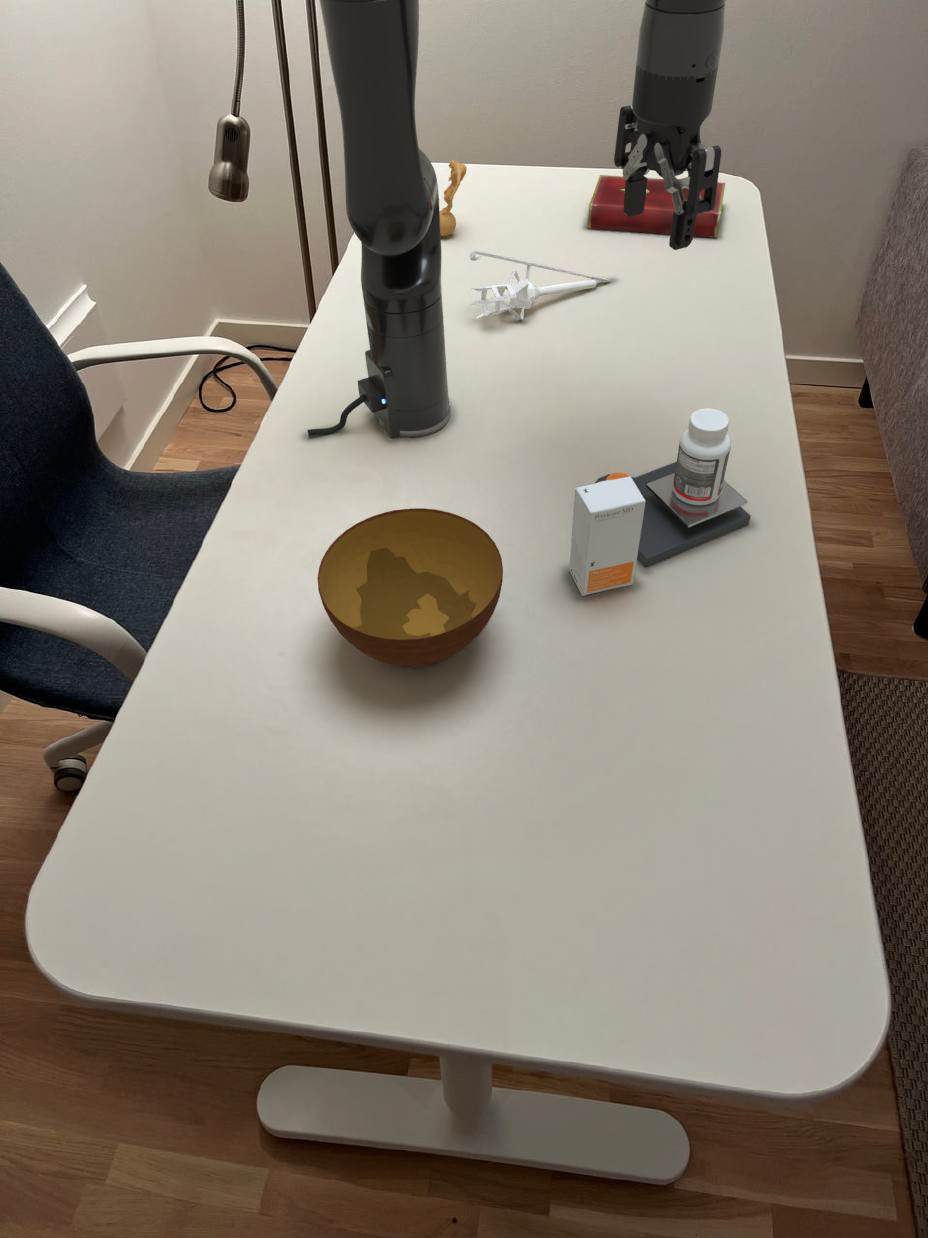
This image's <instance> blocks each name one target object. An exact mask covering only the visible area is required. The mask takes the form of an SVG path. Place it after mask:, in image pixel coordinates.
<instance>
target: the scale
mask: <svg viewBox="0 0 928 1238" xmlns="http://www.w3.org/2000/svg"><path fill="white" fill-rule="evenodd" d="M676 463H677V461H675V462H672V463H669V464H667V465H664V466H660V467H659V468H656V469H654V470H651V471H649V472H646V473H643V474H641V475H638V476H635V477H634V476H631V475H629V476H630V477H631V478H632V479H633V481H634V483H635V484H636V486H637V488H638V489H639V491H640V493H641V494H642V496H643V498H644V499H645V501H646V502H645V509H644V515H643V522H642V529H641V535H640V541H639V548H638V555H637V561H639V562H640V563H641V564H642V566H643V567H644V568H649V567H651V566H653V565H656V564H659V563H661V562H662V561H665V560H667V559H669V558H672V557H674V556H677V555H679V554H682V553H684V552H686V551H689V550H691V549H694V548H696V547H698V546H701V545H703V544H705V543H707V542H710V541H712V540H715V539H718V538H720V537H722V536H725V535H728V534H729V533H731V532H734V531H737V530H739V529H741V528H743V527H746V526H748V525H749V524H750V520H751V516H752V515H751V514H750V513H749V512H748V511H746V510H745V509H744V508H743V507H742V506H740V507H737V508H735V509H733V510H730V511H728V512H725V513H723V514H720V515H718V516H716V517H713V518H711V519H708V520H706V521H703V522H701V523H698V524H696V525H694V526H691V527H689V528H688V527H687V526H686V525H685V524H684V523H683V522H682V521H681V520H680V519H679V518H678V517H677V516H676V515H675V514H673V513H672V512H671V511H670V510H669V509H668V508H667V507H666V506H665V505H664V504H663V503H662V502H661V501H660V500H659V499H658V498H657V497H656V496H655V495H654V494H653V493H652V492H651V491H650V490H649V489H648V488H647V487H646V484H647V483H650V482H653V481H655V480H658V479H660V478H663V477H665V476H668V475H671V474H673V473H675V469H676ZM610 474H611V473H608V474H605V475H604V476H601V477H598V478H597V479H596V481H594V483H593V484H595V483H598V482H601V481H606V479H607V477H608V476H609V475H610Z"/></svg>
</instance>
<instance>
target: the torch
mask: <svg viewBox="0 0 928 1238" xmlns="http://www.w3.org/2000/svg"><path fill="white" fill-rule="evenodd" d="M476 255H479V256H477V257H476ZM482 256H484V257H488V258H493V259H498V260H503V261H508V262H512V263H517V264H522V265H526V272H525V278H523V279H520V276H519V273H518V271H517V270H514V271H511V273H510V275H509V276H508V278H507V279H506V281H505V282H504V284H494V285H487V286H483V285H480V287H479V288H478V287H471V289H473V290H474V291H476V292H481V297H480V300H476V301H473V302H471V303H468V305H469V306H480V305H481V306H482V308H483V311H484V313H483V312H482V313H480V314H479V315H478V316H477V317H476V318H475V319H476V320H477V319H480V318H482V317H484V318H485V317H488V316H493V315H498V314H501V313H504V312H508V313H511V315H512V316H513V317H514V318H515V319H517V320H518V321H522V320H524V315H525V309H532V307H533V306H534V305H535V303H536V302H537V300H538V299H539V297H545V296H551V295H557V294H558V295H559V294H563V293H564V294H565V293H570V292H577V291H582V290H583V291H584V290H588V289H595V288H596V287H597V285H598V281H601V282H612V280H611V279H609V278H605V277H601V276H596V275H592V274H588V273H582V272H578V271H573V270H568V269H564V268H559V267H554V266H549V265H546V264H540V263H537V262H531V261H526V260H522V259H517V258H512V257H508V256H503V255H499V254H493V253H490V252H485V251H480V250H477V249H476V250H473V251H470V252H469V260H470V261H473V262H475V261H478V260H481V259H482V258H483V257H482ZM532 267H535V268H539V269H545V270H549V271H555V272H559V273H564V274H568V275H573V276H577V277H582V278H587V279H585V280H578V281H572V282H565V283H559V284H558V283H557V284H553V285H547V286H546V285H545V286H539V287H538V286H537V285H535V283H533V282H532V281H531V271H532ZM514 277H515V280H517V282H515V283H513V284H510V283H511V281H512V279H513V278H514ZM488 290H491V291H492V293H493V295H494V297H490V298H487V294H488V293H487V292H488ZM505 291H508V293H509V294H506V295H504V293H505ZM506 300H510V303H509V306H508V305H507V304H506V303H505V301H506ZM492 303H495V307H494V311H491V310H490V308H489V306H488V304H492ZM516 308H517V309H521V311H520V315H519V314H518V313H517V312H516V311H515V310H514V309H516Z"/></svg>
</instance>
